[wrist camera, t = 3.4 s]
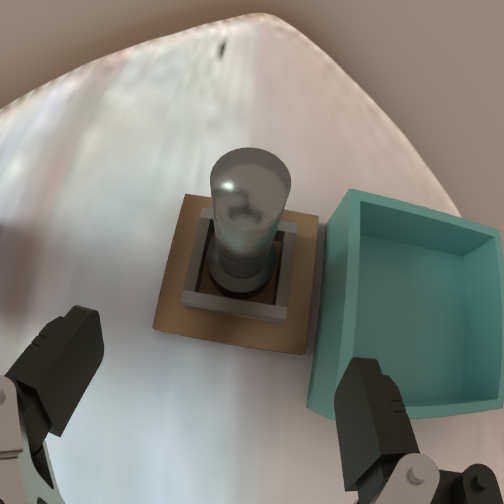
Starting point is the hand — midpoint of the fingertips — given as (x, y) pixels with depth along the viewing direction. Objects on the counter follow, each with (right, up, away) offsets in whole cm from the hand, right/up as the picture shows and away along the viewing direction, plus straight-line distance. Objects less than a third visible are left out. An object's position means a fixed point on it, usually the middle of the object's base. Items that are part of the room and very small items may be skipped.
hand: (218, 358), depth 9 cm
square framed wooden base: (0, +2, +15) cm, 16 cm away
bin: (+14, -3, +15) cm, 20 cm away
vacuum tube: (0, +2, +14) cm, 15 cm away
